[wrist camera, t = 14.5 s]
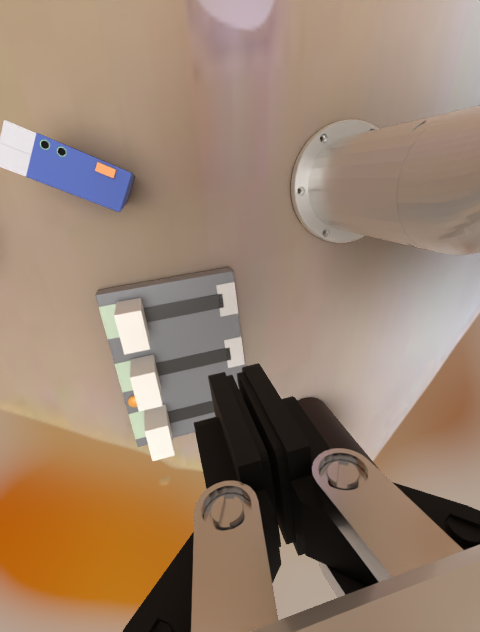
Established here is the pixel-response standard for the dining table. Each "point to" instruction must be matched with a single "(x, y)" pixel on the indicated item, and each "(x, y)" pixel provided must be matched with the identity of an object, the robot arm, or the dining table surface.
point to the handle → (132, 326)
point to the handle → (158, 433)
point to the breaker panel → (180, 342)
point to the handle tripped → (145, 383)
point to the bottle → (330, 426)
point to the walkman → (63, 167)
